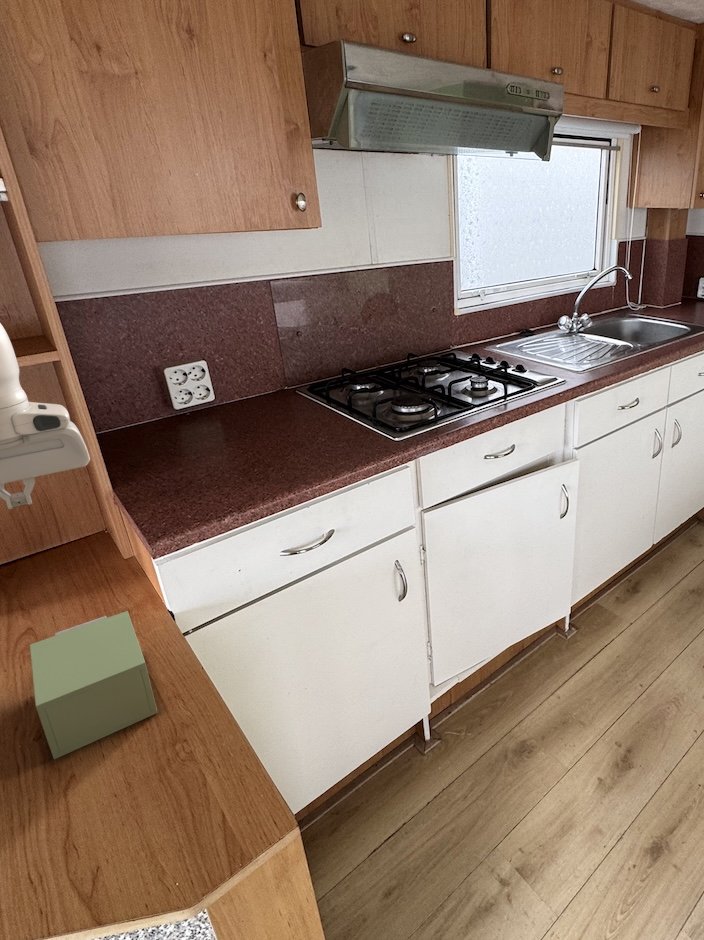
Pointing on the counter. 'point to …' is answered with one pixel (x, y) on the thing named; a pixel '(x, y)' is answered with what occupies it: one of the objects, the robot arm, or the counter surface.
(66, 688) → the cabinet
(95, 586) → the counter surface
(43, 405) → the robot arm
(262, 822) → the counter surface
